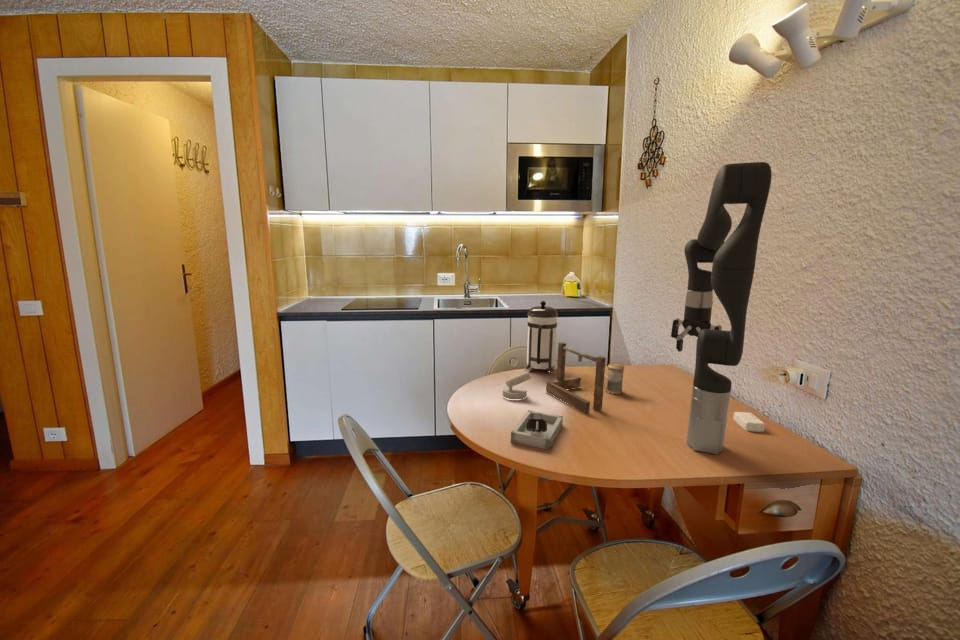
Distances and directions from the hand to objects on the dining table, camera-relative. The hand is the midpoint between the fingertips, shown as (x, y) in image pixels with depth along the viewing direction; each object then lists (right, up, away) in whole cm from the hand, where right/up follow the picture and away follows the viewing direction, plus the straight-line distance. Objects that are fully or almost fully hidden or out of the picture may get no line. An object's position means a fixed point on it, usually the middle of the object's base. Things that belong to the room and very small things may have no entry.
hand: (693, 353), depth 140 cm
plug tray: (-51, -23, -10) cm, 57 cm away
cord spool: (-18, -16, +25) cm, 34 cm away
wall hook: (-55, -17, +19) cm, 61 cm away
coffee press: (-42, -11, +50) cm, 66 cm away
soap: (+16, -23, -3) cm, 28 cm away
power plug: (-52, -22, -11) cm, 58 cm away
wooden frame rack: (-32, -18, +17) cm, 40 cm away
